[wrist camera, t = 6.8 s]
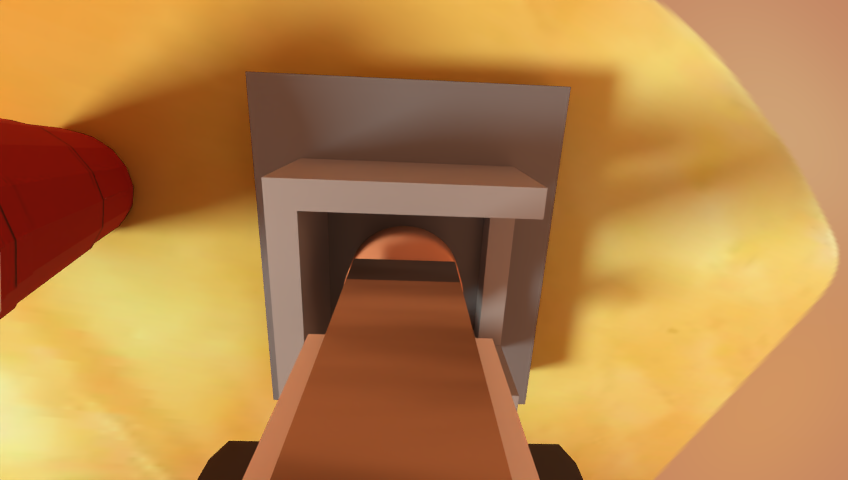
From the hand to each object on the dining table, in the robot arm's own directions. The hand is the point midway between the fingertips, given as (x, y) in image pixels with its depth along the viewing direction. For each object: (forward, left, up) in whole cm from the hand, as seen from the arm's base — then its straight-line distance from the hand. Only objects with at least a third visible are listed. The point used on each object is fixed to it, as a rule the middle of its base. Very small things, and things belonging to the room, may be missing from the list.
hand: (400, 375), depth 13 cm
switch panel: (0, 0, -13) cm, 13 cm away
